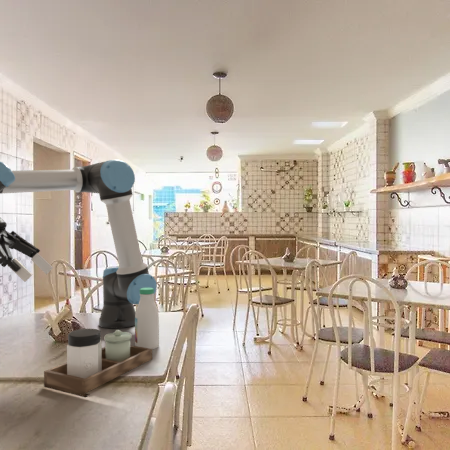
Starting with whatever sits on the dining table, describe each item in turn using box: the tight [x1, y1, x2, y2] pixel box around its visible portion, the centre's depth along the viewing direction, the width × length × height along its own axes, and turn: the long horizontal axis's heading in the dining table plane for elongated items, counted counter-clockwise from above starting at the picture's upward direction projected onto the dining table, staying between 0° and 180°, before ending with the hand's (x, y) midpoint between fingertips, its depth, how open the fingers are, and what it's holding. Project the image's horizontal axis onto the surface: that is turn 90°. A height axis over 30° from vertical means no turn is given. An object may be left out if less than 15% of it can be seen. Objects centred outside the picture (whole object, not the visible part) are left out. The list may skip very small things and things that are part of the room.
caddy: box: [43, 344, 153, 398], centre depth 117 cm, size 27×14×4 cm, turn 154°
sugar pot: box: [103, 329, 132, 362], centre depth 123 cm, size 8×8×10 cm
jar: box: [66, 328, 103, 378], centre depth 111 cm, size 9×8×12 cm
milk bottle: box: [134, 288, 160, 350], centre depth 138 cm, size 8×8×20 cm
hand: (39, 274), depth 122 cm, fingers open, 13 cm apart
